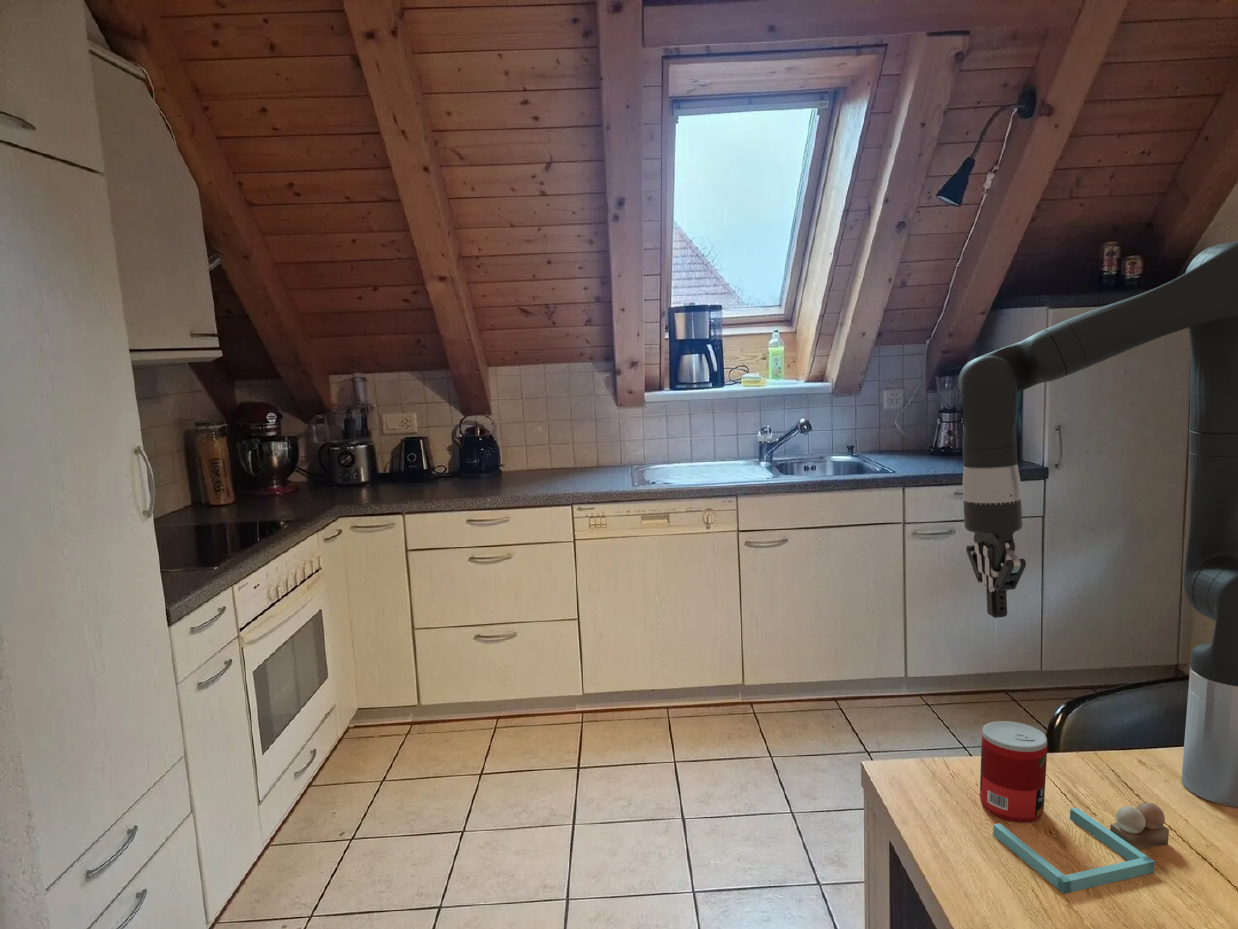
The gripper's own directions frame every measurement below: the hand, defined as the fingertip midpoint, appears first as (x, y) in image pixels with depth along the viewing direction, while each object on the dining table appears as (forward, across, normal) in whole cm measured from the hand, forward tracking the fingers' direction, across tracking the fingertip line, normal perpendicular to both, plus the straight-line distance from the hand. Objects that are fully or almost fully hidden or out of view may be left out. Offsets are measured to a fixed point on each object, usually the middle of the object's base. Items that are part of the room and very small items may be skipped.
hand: (997, 615), depth 119 cm
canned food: (+25, -7, +3) cm, 26 cm away
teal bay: (+26, -17, +1) cm, 31 cm away
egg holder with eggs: (+26, -16, -9) cm, 32 cm away
